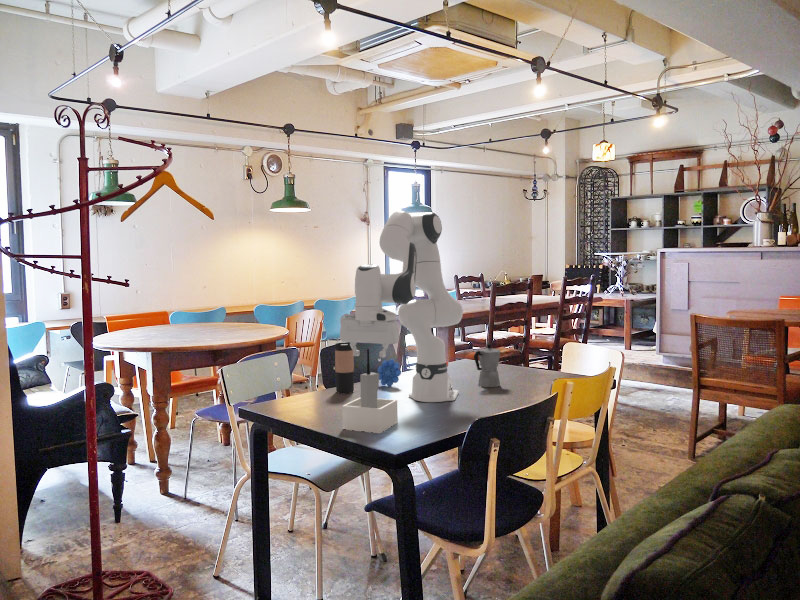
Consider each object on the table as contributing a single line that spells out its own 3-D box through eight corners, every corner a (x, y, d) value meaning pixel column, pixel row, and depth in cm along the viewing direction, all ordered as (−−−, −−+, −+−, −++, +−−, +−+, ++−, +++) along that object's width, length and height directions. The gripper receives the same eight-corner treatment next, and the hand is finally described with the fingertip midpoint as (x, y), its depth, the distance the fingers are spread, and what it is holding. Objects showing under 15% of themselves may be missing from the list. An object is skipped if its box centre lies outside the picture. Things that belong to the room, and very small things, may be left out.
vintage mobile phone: (380, 423, 214) (378, 348, 213) (368, 426, 211) (367, 350, 209) (372, 421, 217) (371, 347, 215) (361, 424, 214) (359, 349, 212)
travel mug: (332, 393, 266) (331, 344, 265) (340, 389, 273) (339, 342, 272) (350, 394, 264) (349, 345, 262) (357, 390, 271) (356, 342, 270)
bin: (361, 419, 223) (360, 397, 223) (397, 423, 218) (397, 400, 217) (342, 429, 211) (342, 405, 210) (380, 433, 206) (380, 409, 205)
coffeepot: (491, 382, 285) (491, 341, 284) (507, 385, 278) (507, 343, 277) (466, 386, 276) (466, 344, 274) (482, 390, 268) (482, 347, 267)
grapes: (406, 385, 279) (405, 358, 278) (398, 388, 273) (397, 360, 273) (382, 383, 285) (382, 356, 284) (374, 386, 279) (374, 358, 278)
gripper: (335, 314, 213) (336, 356, 214) (393, 316, 205) (393, 359, 206) (344, 312, 219) (345, 353, 220) (400, 314, 211) (401, 356, 212)
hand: (369, 356), depth 213 cm, fingers open, 8 cm apart
